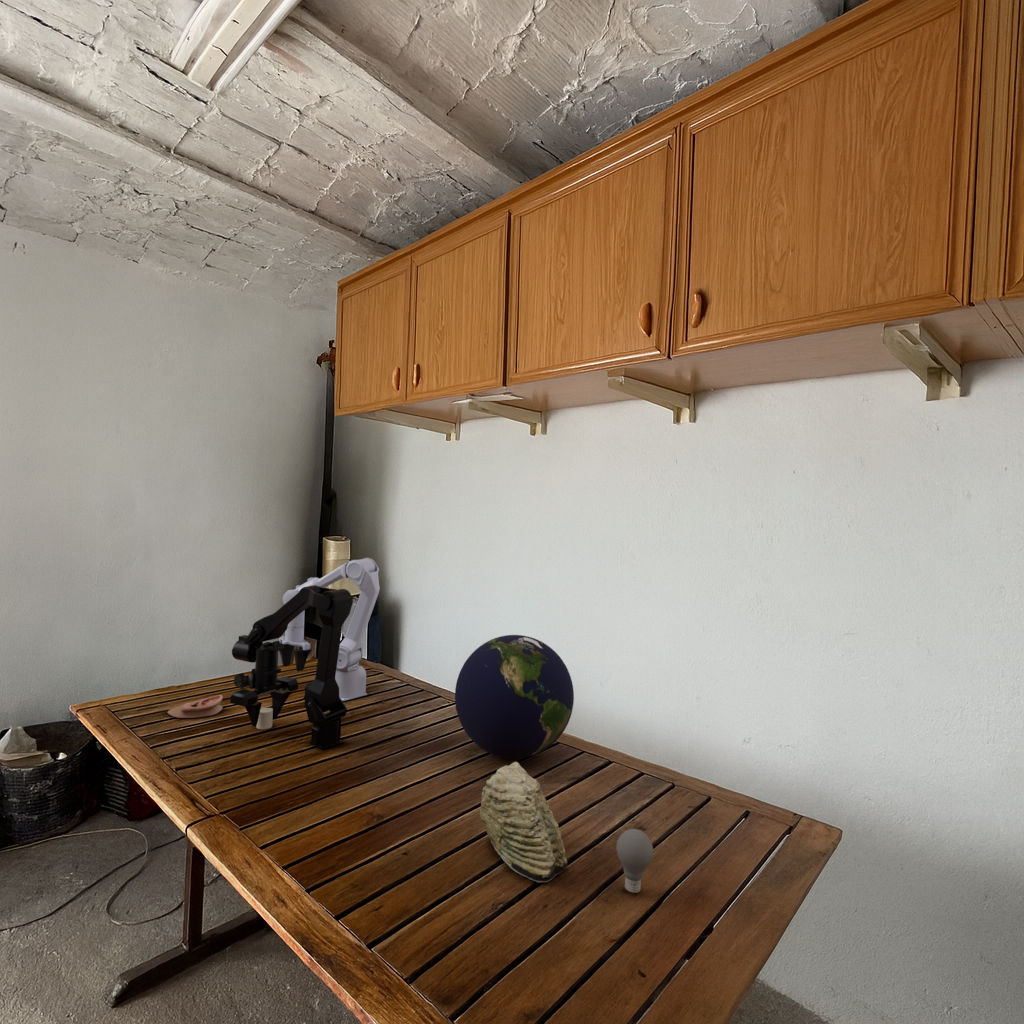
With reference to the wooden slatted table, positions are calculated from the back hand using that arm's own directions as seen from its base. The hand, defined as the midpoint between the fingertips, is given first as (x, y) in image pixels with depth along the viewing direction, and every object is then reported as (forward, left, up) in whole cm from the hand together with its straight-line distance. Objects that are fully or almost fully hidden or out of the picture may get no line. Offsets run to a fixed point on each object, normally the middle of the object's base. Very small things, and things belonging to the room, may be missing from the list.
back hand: (293, 668), depth 205 cm
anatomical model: (+31, 0, -7) cm, 32 cm away
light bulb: (+22, +133, -7) cm, 135 cm away
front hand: (+24, +24, -6) cm, 34 cm away
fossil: (+26, +113, -7) cm, 116 cm away
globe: (-9, +84, -7) cm, 84 cm away
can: (+24, +24, -7) cm, 34 cm away
